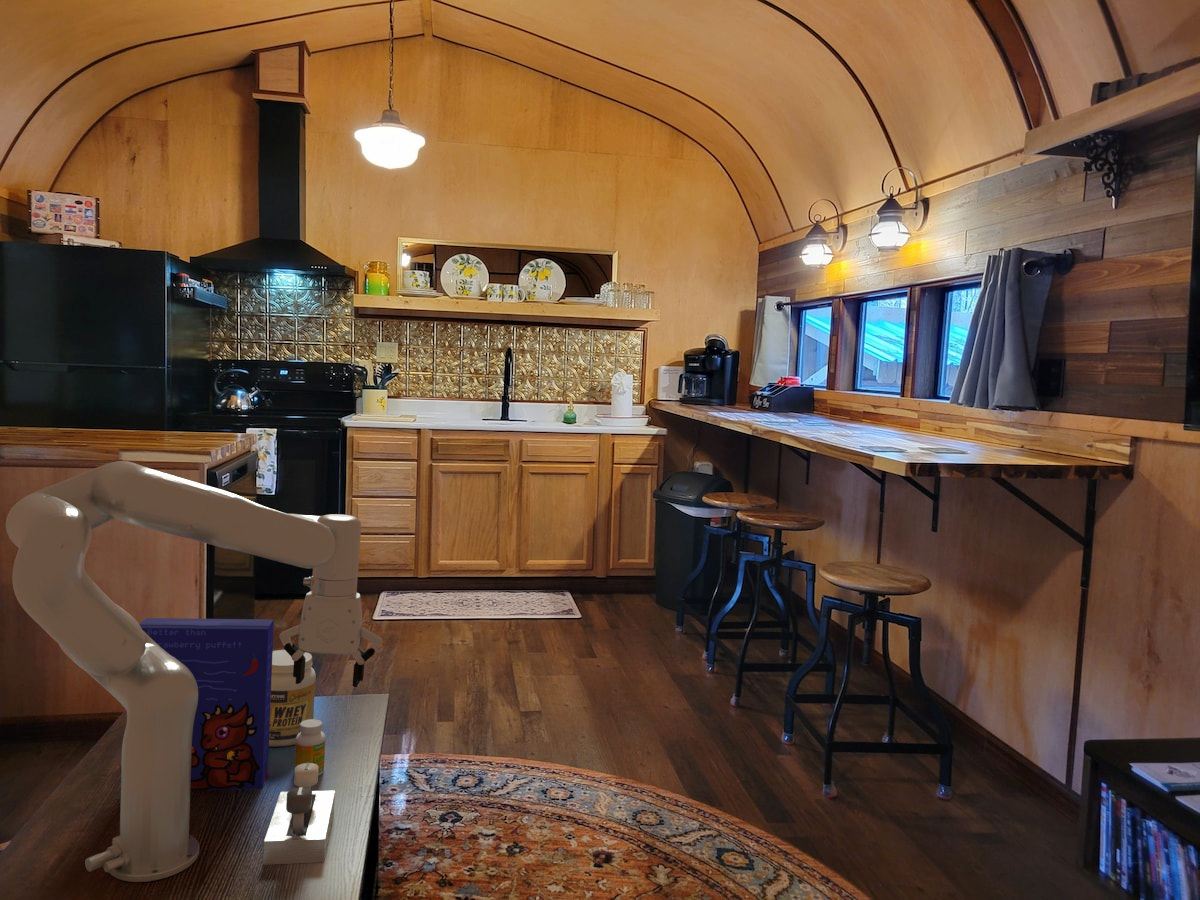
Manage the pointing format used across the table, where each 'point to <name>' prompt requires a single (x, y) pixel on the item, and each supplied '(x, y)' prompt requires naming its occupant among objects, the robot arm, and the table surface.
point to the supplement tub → (289, 699)
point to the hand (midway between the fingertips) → (328, 682)
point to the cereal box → (224, 695)
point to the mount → (299, 848)
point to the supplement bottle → (310, 744)
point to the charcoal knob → (298, 806)
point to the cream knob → (306, 775)
